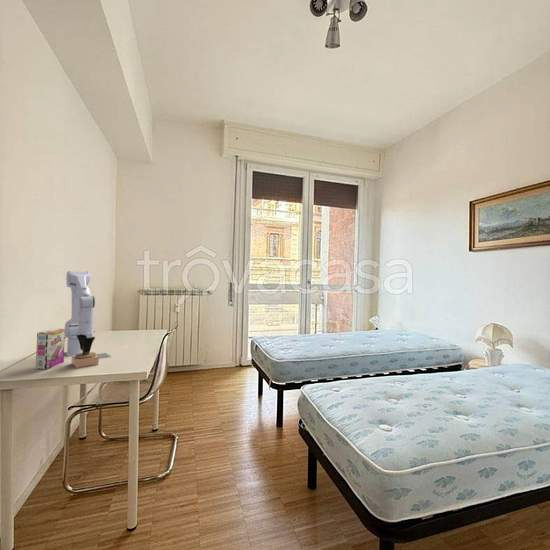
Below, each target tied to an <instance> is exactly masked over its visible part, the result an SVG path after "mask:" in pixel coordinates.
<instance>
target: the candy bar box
mask: <svg viewBox="0 0 550 550" xmlns="http://www.w3.org/2000/svg"><path fill="white" fill-rule="evenodd" d="M65 338H66V337H65V328H53V329H48V330H43V331H39V332H37V336H36V356H35V370H38V369H46V370H48V368H49V369H51V368H52V367H55V366H58V365H61V364H64V363H65V362H64V361H65V340H66V339H65Z"/></svg>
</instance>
